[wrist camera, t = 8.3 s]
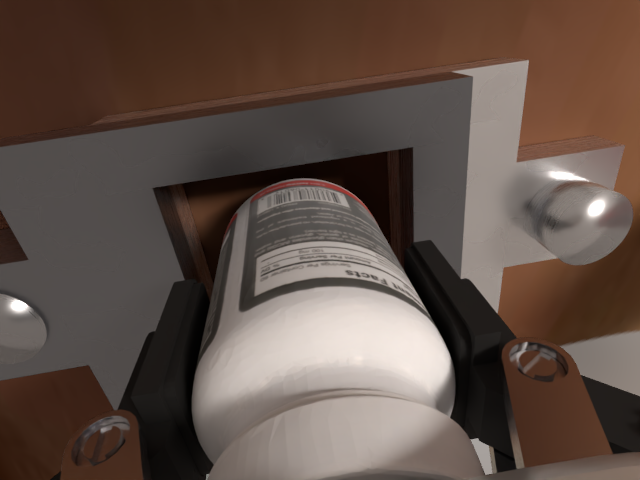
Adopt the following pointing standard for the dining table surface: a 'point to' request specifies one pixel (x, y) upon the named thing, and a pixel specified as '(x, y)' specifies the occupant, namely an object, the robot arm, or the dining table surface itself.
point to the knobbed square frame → (270, 153)
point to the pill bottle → (322, 351)
